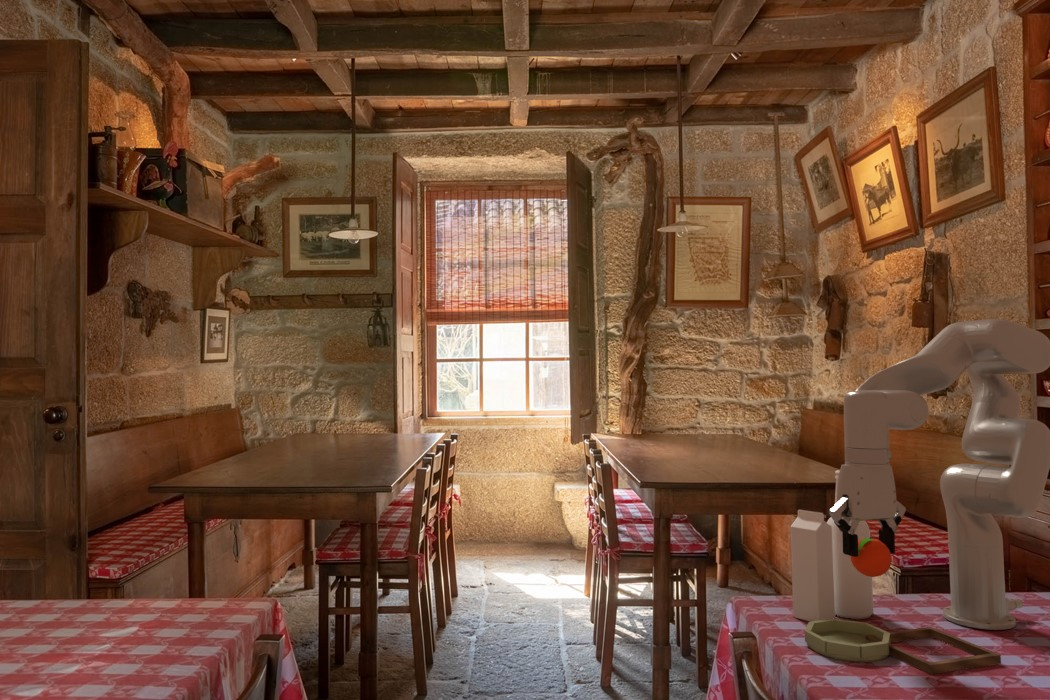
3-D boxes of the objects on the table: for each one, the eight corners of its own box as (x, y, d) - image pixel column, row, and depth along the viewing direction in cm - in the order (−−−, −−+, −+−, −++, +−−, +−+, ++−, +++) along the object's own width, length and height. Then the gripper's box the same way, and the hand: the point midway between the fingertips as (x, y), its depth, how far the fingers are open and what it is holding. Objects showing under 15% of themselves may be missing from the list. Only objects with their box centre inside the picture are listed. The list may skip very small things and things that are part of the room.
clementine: (878, 584, 127) (877, 543, 127) (840, 576, 132) (839, 537, 133) (899, 577, 132) (898, 537, 132) (862, 569, 137) (861, 532, 138)
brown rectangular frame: (930, 634, 139) (930, 626, 139) (1001, 663, 124) (1000, 654, 124) (865, 643, 135) (865, 635, 135) (930, 674, 120) (930, 665, 120)
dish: (852, 630, 142) (852, 616, 142) (907, 656, 128) (907, 640, 128) (791, 638, 138) (790, 623, 138) (841, 666, 124) (841, 649, 125)
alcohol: (832, 618, 149) (826, 473, 150) (824, 605, 157) (819, 468, 159) (878, 621, 147) (872, 473, 148) (867, 607, 155) (862, 468, 157)
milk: (819, 624, 146) (815, 515, 146) (792, 617, 150) (788, 511, 151) (835, 618, 149) (831, 511, 150) (808, 610, 154) (805, 507, 155)
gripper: (888, 454, 139) (890, 546, 138) (813, 456, 134) (815, 552, 133) (920, 458, 132) (922, 555, 131) (842, 460, 127) (844, 561, 126)
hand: (868, 553), depth 132 cm, fingers closed on clementine, 7 cm apart
